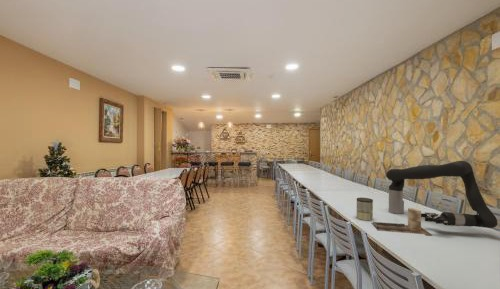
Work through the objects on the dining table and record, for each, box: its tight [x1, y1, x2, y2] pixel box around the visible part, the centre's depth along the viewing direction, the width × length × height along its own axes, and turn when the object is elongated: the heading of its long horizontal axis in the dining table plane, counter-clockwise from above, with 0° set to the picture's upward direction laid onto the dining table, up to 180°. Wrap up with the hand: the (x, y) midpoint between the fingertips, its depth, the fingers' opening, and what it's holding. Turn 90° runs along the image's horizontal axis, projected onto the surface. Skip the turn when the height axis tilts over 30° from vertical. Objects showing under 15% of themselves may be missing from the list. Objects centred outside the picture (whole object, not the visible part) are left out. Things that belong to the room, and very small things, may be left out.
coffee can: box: [356, 197, 374, 222], centre depth 169 cm, size 10×10×14 cm
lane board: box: [371, 221, 433, 237], centre depth 150 cm, size 28×15×2 cm, turn 78°
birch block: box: [407, 207, 422, 231], centre depth 148 cm, size 5×5×12 cm
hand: (421, 217), depth 147 cm, fingers open, 8 cm apart
